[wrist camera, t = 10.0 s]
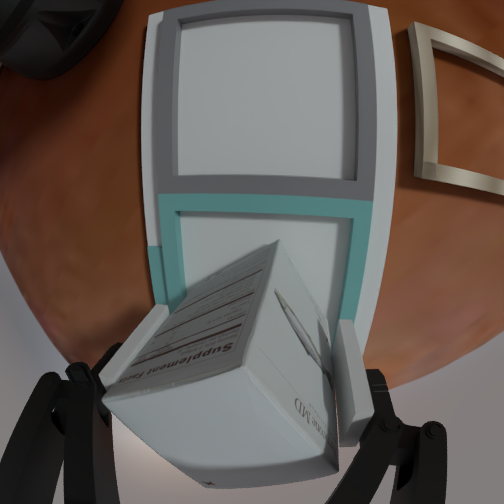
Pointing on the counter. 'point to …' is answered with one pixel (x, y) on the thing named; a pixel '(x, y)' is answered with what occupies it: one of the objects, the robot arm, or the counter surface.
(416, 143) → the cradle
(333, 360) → the robot arm
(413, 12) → the counter surface
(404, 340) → the counter surface
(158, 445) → the supplement box
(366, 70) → the pocket plate
